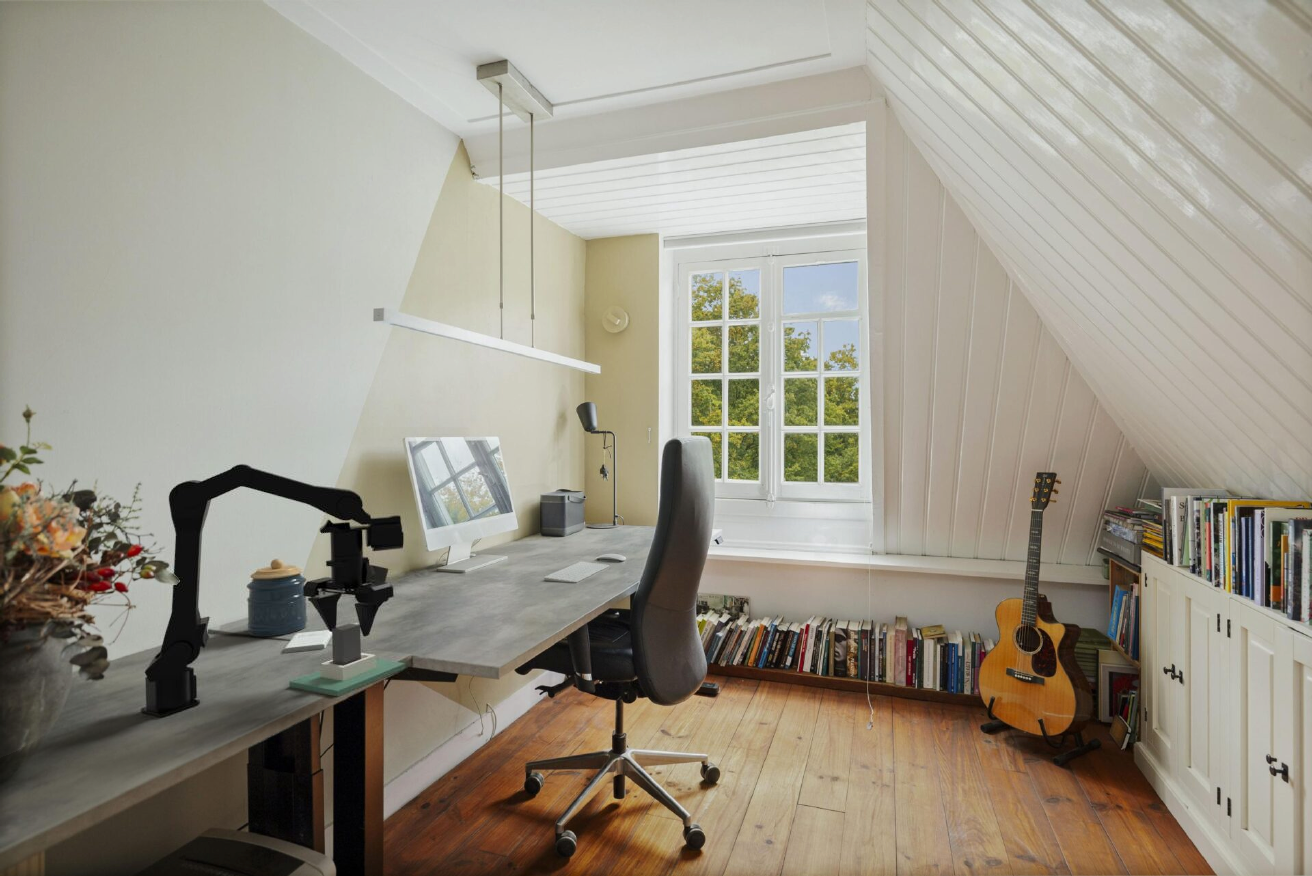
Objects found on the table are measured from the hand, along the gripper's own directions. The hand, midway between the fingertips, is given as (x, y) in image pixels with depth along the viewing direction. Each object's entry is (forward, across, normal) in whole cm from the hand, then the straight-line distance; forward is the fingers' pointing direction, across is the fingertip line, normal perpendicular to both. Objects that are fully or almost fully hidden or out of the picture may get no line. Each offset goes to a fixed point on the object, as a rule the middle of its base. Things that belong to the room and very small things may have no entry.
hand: (349, 633), depth 132 cm
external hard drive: (+9, +28, -13) cm, 33 cm away
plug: (+8, 0, 0) cm, 8 cm away
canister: (+9, +46, -18) cm, 50 cm away
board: (+8, 0, 0) cm, 9 cm away
